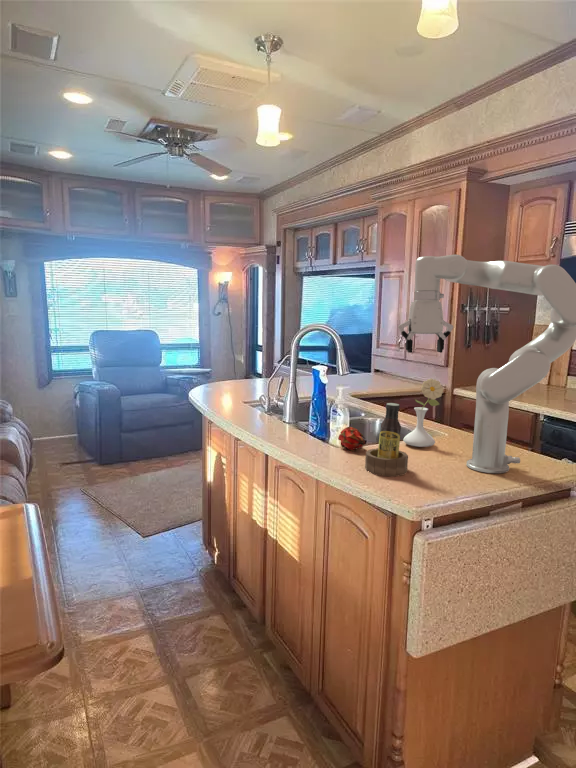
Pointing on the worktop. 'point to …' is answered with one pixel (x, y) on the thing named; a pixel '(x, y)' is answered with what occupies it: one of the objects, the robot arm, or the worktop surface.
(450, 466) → the worktop surface
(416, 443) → the flower in vase
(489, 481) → the worktop surface
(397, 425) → the sauce bottle
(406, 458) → the bottle holder
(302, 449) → the worktop surface
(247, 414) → the worktop surface
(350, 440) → the dragon fruit
